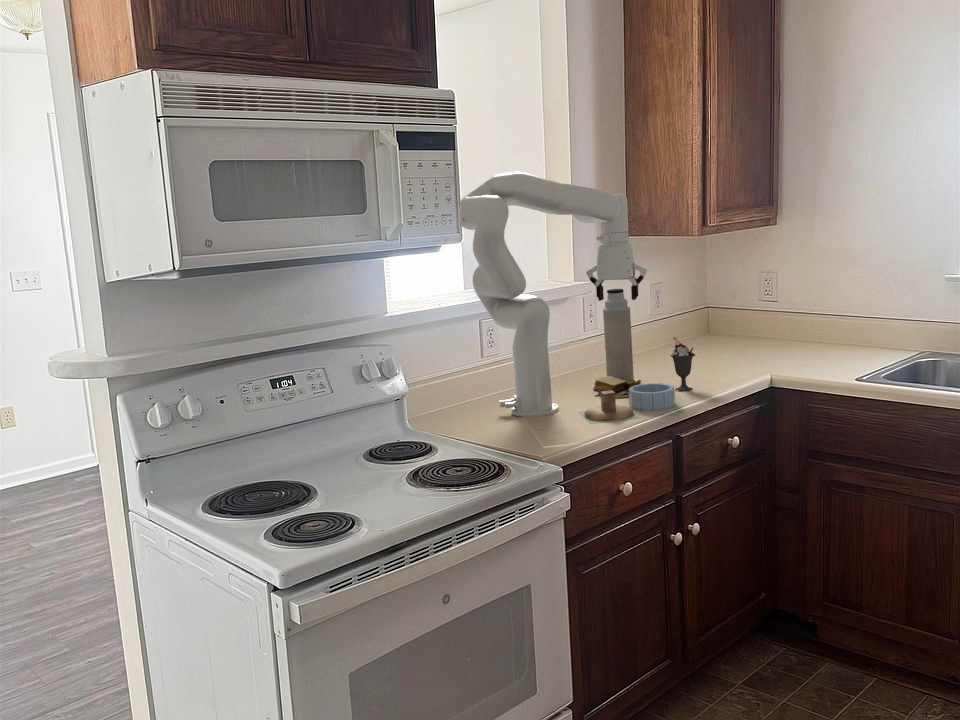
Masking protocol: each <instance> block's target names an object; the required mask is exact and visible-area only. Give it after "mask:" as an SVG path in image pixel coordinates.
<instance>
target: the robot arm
mask: <svg viewBox="0 0 960 720" xmlns="http://www.w3.org/2000/svg"><path fill="white" fill-rule="evenodd" d="M459 202H460V206H461V225H460V226H461V227H462V228H464V229H466V230H471V231H473V230H474V232H473V233H474V234H473V239H472V240H473V241H472V253H473V255H474V258H475V260H476V262H477V264H478V266H477V267H476V268H475V269H474V271H473V274H472V286H473V289H474V291H475V292H474V293H476V295H477V297H478V299H479V300H480V301H481V303H482V305H483V307H484V308H485V309H486V311H487V313H488V314H489V315H490V318H491V319H492V320H493V321H494V323H496V325H498V326H499V327H501V328H504V329H508V330H515V334H514V338H513V340H512V341H513V342H512V358H513V360H512V361H513V373H514V374H513V375H514V385H515V394H514V395H513V397H511V398H510V399H502V400H501V399H500V400H499V401H498V404H499V408H505V409H510V408H511V415H513V416H516V417H520V418H521V417H522V418H523V417H524V418H525V417H527V418H534V417H542V416H548V415H552V414H554V413H555V414H556V412H558V411H559V405H558V404H557V403H553V397H552V396H553V395H552V382H551V369H550V368H551V367H550V354H549V326H550V316H551V315H550V307H549V306H548V304H547V302H546V301H545V300H544V299H543V298H541V297H539V296H537V295H533V294H532V295H531V294H524V292H525V290H526V287H527V281H526V277H525V275H524V273H523V270H522V269H521V267H520V266H519V264H518V263H517V262H516V260H515V258H514V256H513V255H512V253H511V251H510V249H509V247H508V246H507V244H506V240H505V231H506V226H507V223H508V219H509V213H510V212H509V210H510V209H509V206H510V207H511V206H515V207H516V206H517V207H521V208H525V209H528V210H529V209H530V210H534V211H537V212H541V213H545V214H549V215H556V216H557V215H558V216H560V215H561V216H570V215H571V216H572V215H573V216H574V218H575V219H576V220H577V221H578V222H580V223H587V224H593V223H594V224H595V223H600V230H601V231H600V232H601V233H600V235H597V236H596V241H600V244H598V249H597V258H596V266H593V267H592V268H590V269H588V270H587V271H586V272H585V274H586V275H587V277H588V279H589V281H590V283H592V284H593V285H594V286H595V288H596V290H595V291H596V294H595V295H596V298H597V299H598V301H599V302H600V301H603V300H604V299H605V298H604V286H603V285H602V284H603V283H604V281H622V280H623V281H625V280H628V281H629V282H630V283H631V284H632V285H631V287H630V290H631V292H630V293H631V300H632V301H635V300H637V297H639V285H640V283H641V282H642V281H643V280H644V279H645V277H646V274H647V272H648V269H647V268H645V267H643V266H641V265H639V264H637V263H635V257H634V256H635V255H634V250H633V247H632V243H631V242H630V238H629V237H630V236H629V217H628V216H629V215H628V213H629V211H628V198H627V196H626V195H625V194H623V193H614V194H612V193H610V192H607V191H604V190H601V189H597V188H592V187H588V186H587V187H586V186H582V185H581V186H580V185H575V184H570V183H565V182H559V181H555V180H554V181H553V180H550V179H547V178H544V177H540V176H537V175H534V174H530V173H527V172H521V171H513V172H508V173H507V172H506V173H505V172H504V173H499V174H496V175H494V176H492V177H490V178H489V179H487V180H486V181H484V182H483V183H482V184H480V185H479V186H478V187H476V188H475V189H474V190H472V191H471V192H469V193H468V194H467V195H465V196H464V197H462V199H461V200H460V201H459ZM636 271H638V272H640V274H639V276H638V277H636V276H635V275H636ZM595 272H596V275H597V276H596V277H597V278H596V277H595V276H594V273H595Z"/></svg>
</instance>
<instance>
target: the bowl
mask: <svg viewBox="0 0 960 720" xmlns="http://www.w3.org/2000/svg"><path fill="white" fill-rule="evenodd" d="M628 390H629V397H628V403H629V407H630V408H632V409H633V410H636V411H644V412H645V411H646V412H653V411H655V412H657V411H662V410H669V409H671V408H673V407H674V406H675V403H676V398H675V397H676V395H675V386H673V385H672V384H667V383H661V382H659V383H658V382H656V383H655V382H653V383H652V382H651V383H650V382H649V383H640V384H639V385H635V386H632V387H630V388H629V389H628Z"/></svg>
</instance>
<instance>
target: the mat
mask: <svg viewBox="0 0 960 720" xmlns="http://www.w3.org/2000/svg"><path fill="white" fill-rule="evenodd" d="M585 411H586V410H584V411H578V413H579V415H581V417H583V418H584V419H585V420H586V421H587V422H588V423H589V424H591V425H593V424H601V423H611V422H612V423H613V421H595V420H590V419H587V418H586V417H585ZM633 413H634V414H633V416H631V417H629V418H626V419H622V420H616V421H615V422H620V421H627V420H628V421H629V420H637V419H638V420H639V419H642V417H641V416H640V415H638V414H637V413H635V412H634V411H633Z"/></svg>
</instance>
